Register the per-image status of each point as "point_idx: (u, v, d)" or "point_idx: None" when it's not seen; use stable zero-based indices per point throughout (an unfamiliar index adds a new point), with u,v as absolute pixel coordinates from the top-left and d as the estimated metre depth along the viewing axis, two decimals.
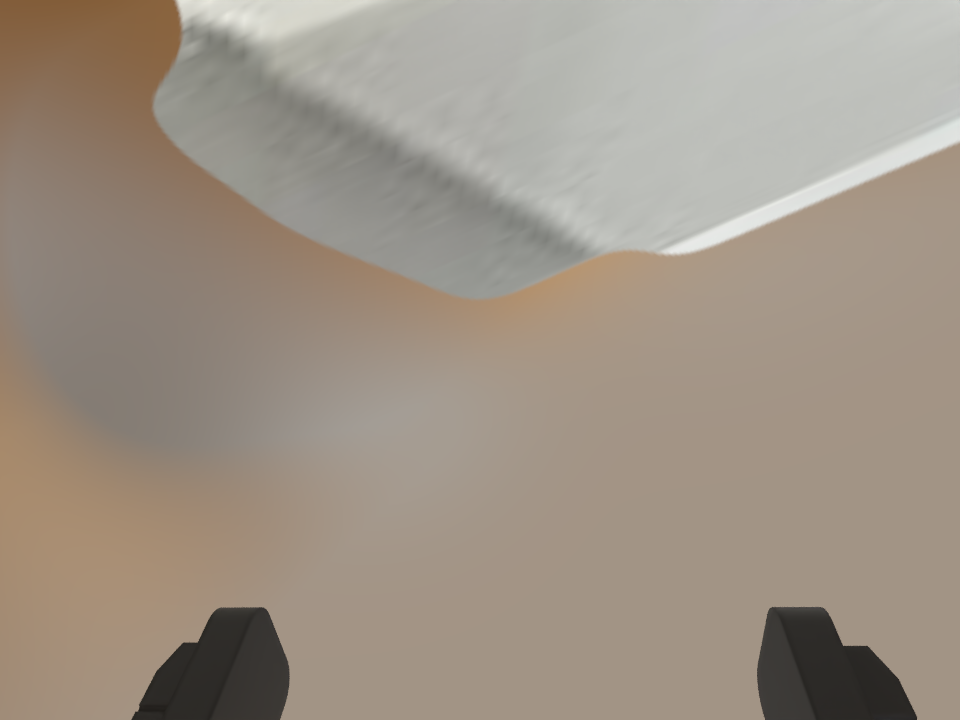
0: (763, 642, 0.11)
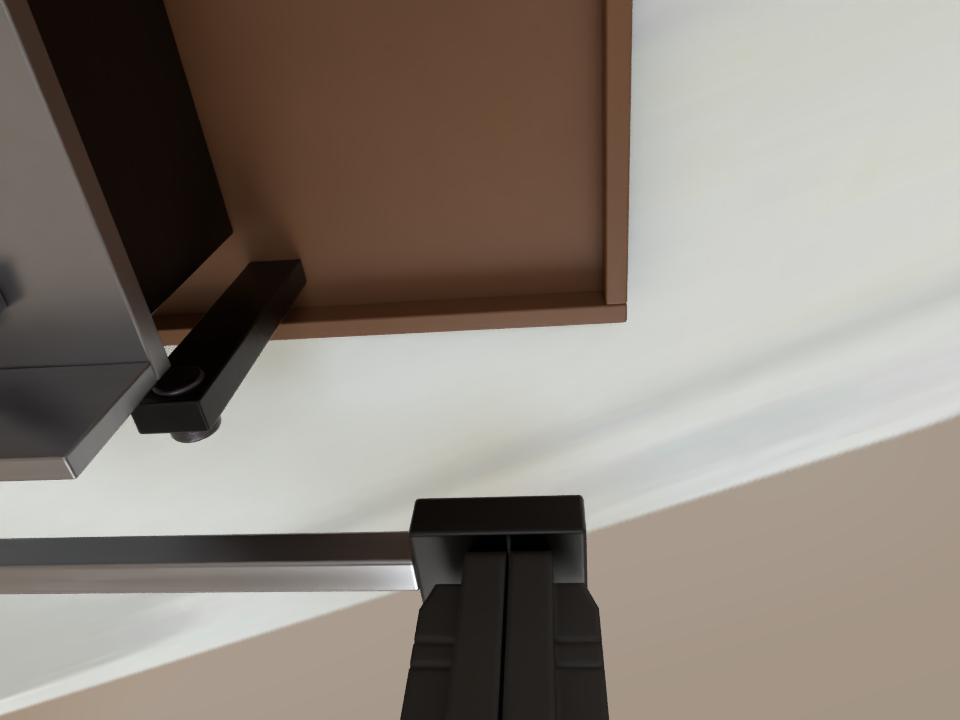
0: None
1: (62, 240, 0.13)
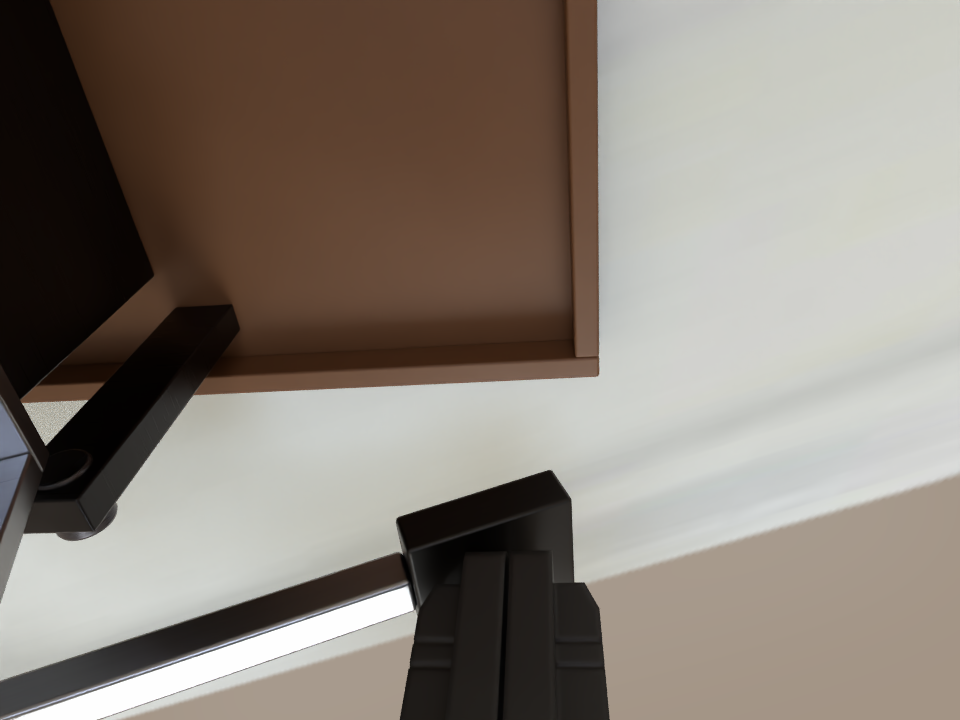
0: None
1: None
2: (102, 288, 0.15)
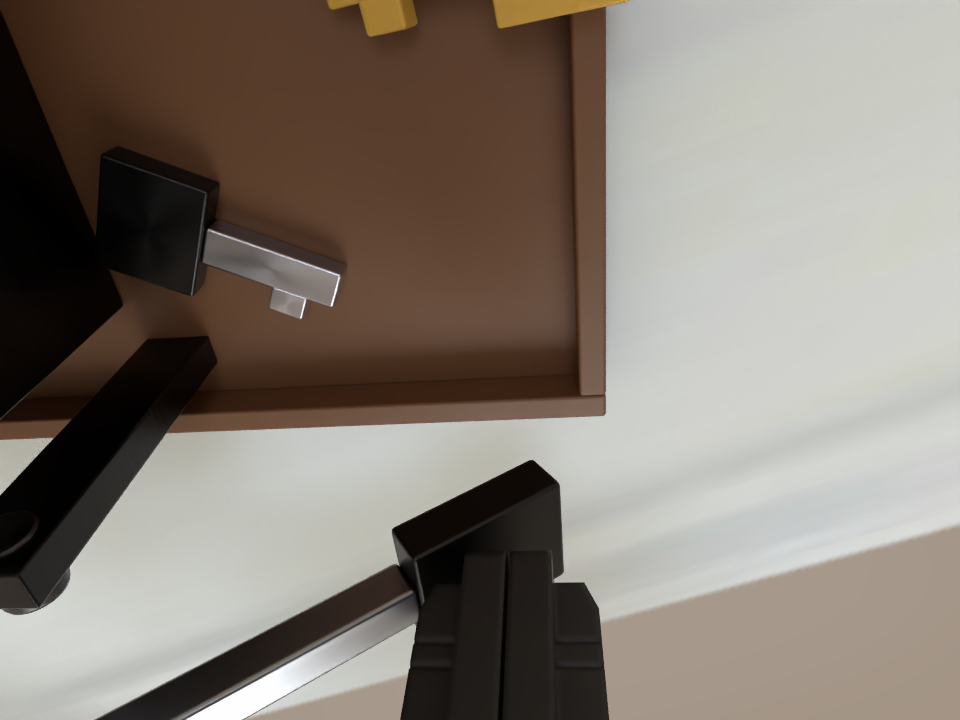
0: None
1: None
2: (61, 323, 0.14)
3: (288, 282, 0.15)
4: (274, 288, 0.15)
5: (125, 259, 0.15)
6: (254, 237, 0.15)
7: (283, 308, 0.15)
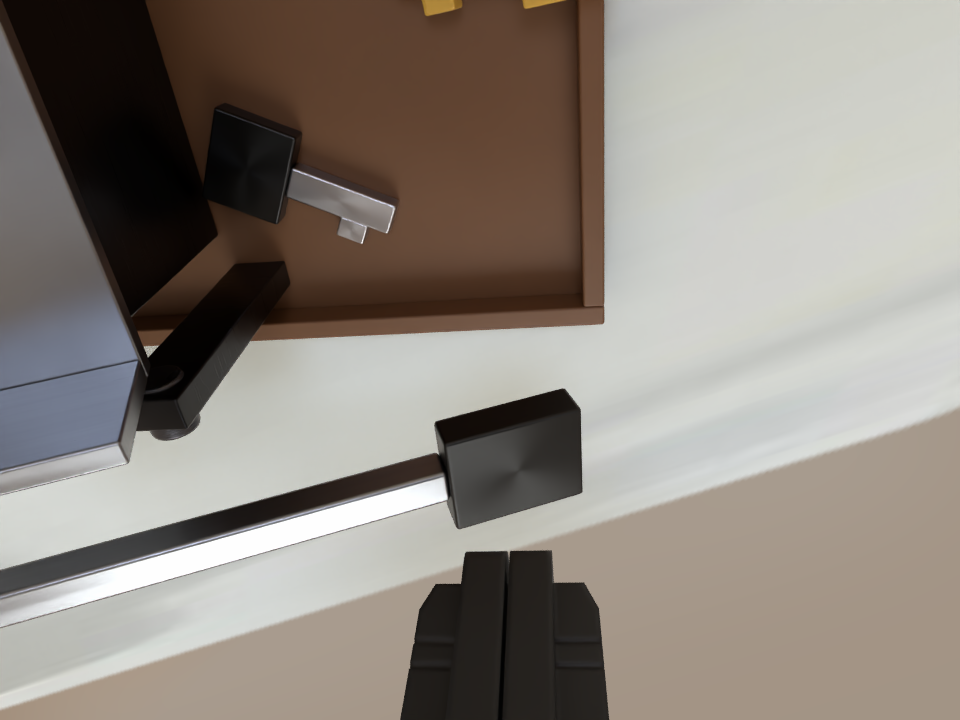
0: None
1: (47, 246, 0.13)
2: (180, 240, 0.18)
3: (353, 212, 0.19)
4: (342, 218, 0.19)
5: (226, 193, 0.19)
6: (328, 176, 0.19)
7: (348, 234, 0.19)
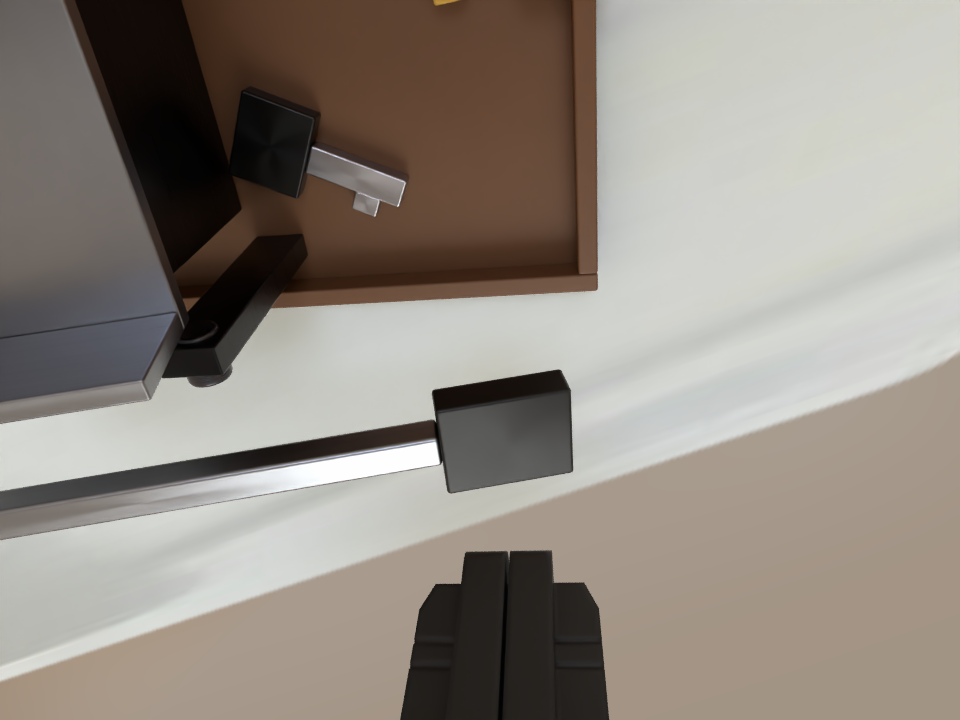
0: None
1: (101, 205, 0.14)
2: (209, 212, 0.20)
3: (367, 187, 0.21)
4: (357, 192, 0.21)
5: (251, 169, 0.21)
6: (344, 154, 0.20)
7: (362, 208, 0.21)
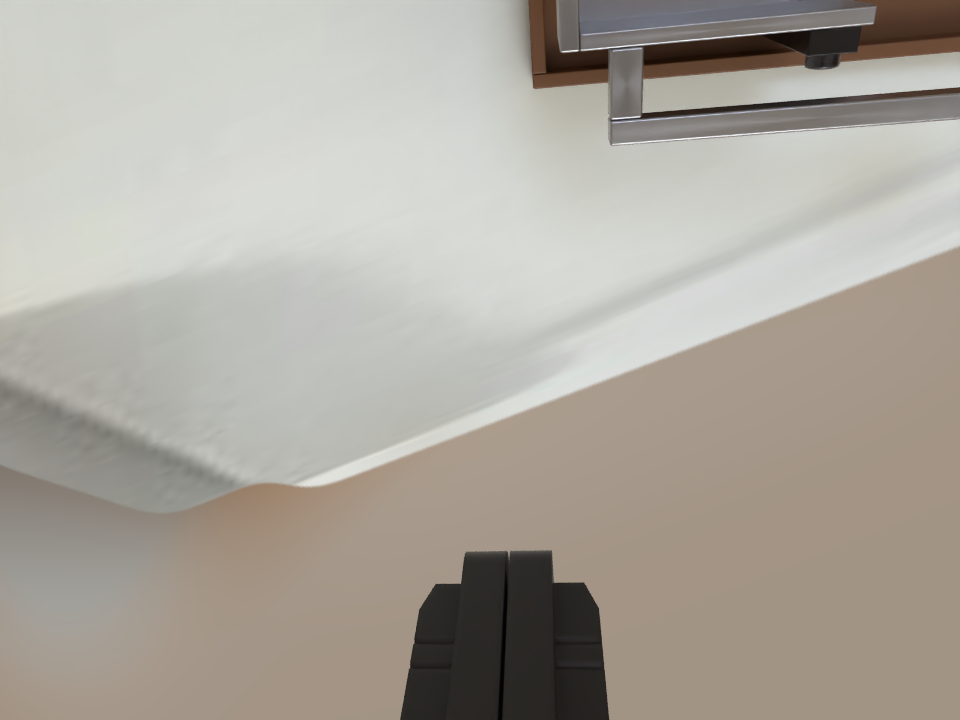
0: None
1: None
2: None
3: None
4: None
5: None
6: None
7: None
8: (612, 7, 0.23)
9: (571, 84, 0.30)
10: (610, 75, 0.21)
